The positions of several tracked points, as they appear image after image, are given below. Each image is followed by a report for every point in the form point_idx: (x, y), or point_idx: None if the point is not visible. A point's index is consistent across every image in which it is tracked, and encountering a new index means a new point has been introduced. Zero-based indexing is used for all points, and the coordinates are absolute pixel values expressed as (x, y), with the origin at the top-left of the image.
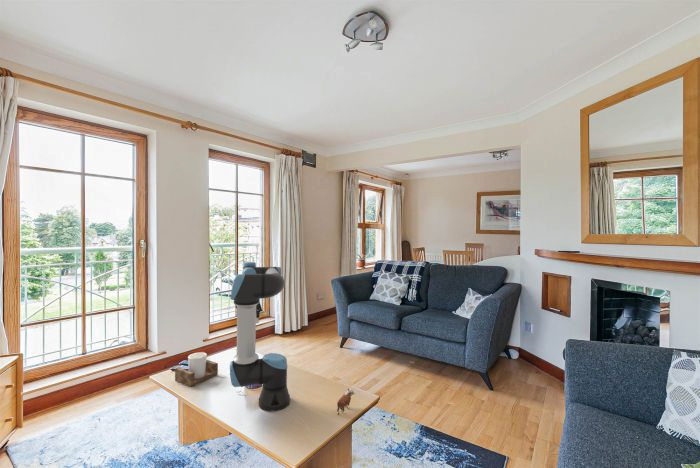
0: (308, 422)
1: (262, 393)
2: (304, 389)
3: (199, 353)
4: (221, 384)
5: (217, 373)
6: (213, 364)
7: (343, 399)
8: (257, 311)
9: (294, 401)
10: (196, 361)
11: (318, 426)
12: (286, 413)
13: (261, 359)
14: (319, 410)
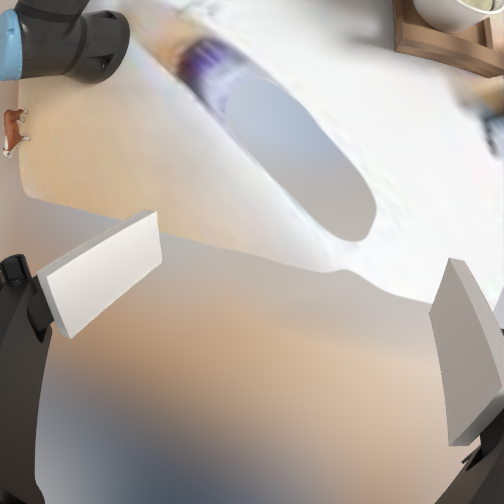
0: None
1: (88, 13)
2: (88, 138)
3: (496, 11)
4: (309, 4)
5: (396, 49)
6: (412, 25)
7: (4, 122)
8: (9, 288)
9: (77, 83)
10: None
11: None
12: None
13: (17, 6)
14: (42, 97)
